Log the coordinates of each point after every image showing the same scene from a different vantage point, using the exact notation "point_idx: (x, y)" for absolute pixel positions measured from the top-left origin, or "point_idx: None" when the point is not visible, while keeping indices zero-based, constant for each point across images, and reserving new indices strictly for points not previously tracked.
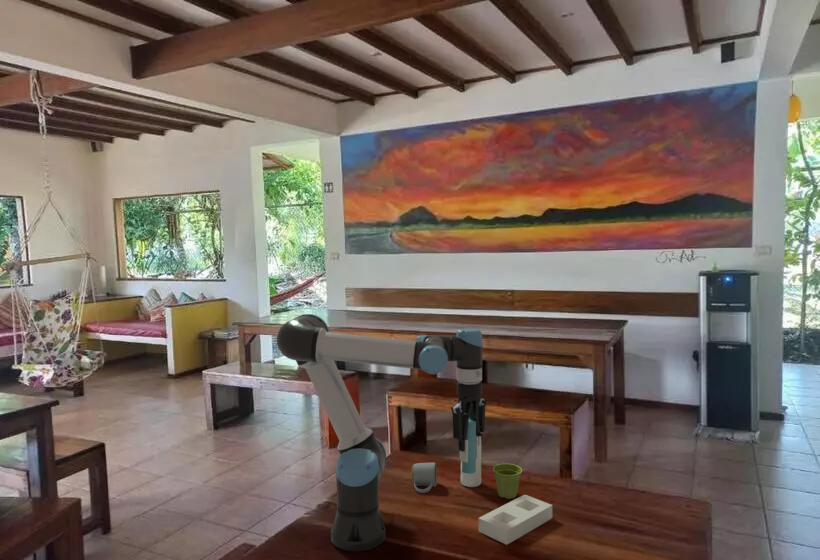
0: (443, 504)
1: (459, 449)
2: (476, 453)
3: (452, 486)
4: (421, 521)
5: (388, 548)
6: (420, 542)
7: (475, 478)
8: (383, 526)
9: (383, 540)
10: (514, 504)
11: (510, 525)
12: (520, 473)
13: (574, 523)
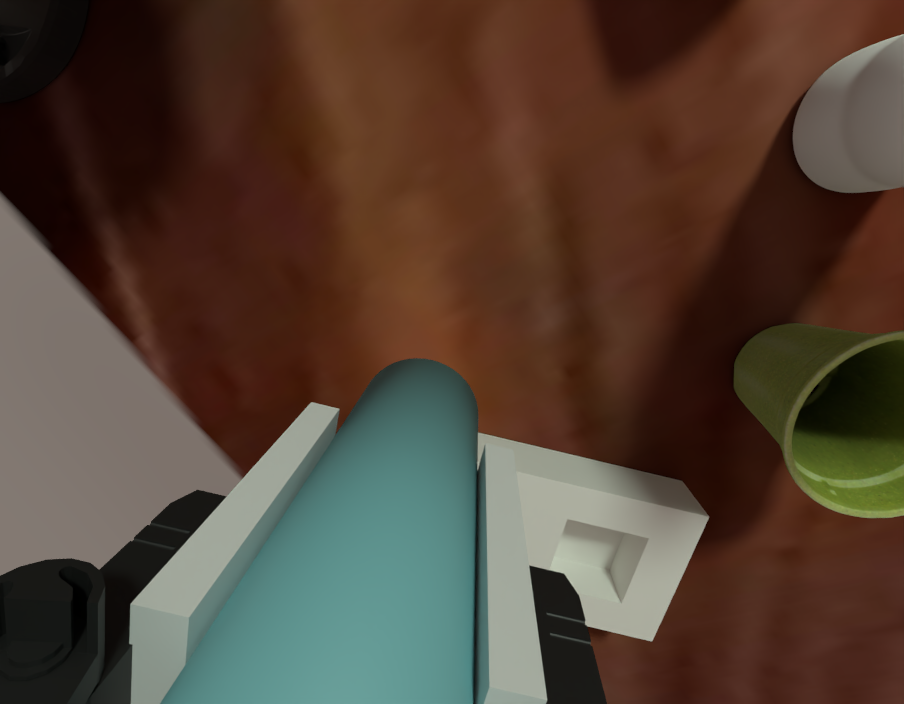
0: (511, 132)
1: (178, 512)
2: None
3: (764, 40)
4: (288, 139)
5: (12, 156)
6: (143, 248)
7: (846, 175)
8: (17, 43)
9: (22, 96)
10: (573, 514)
11: None
12: (859, 514)
13: (631, 661)
